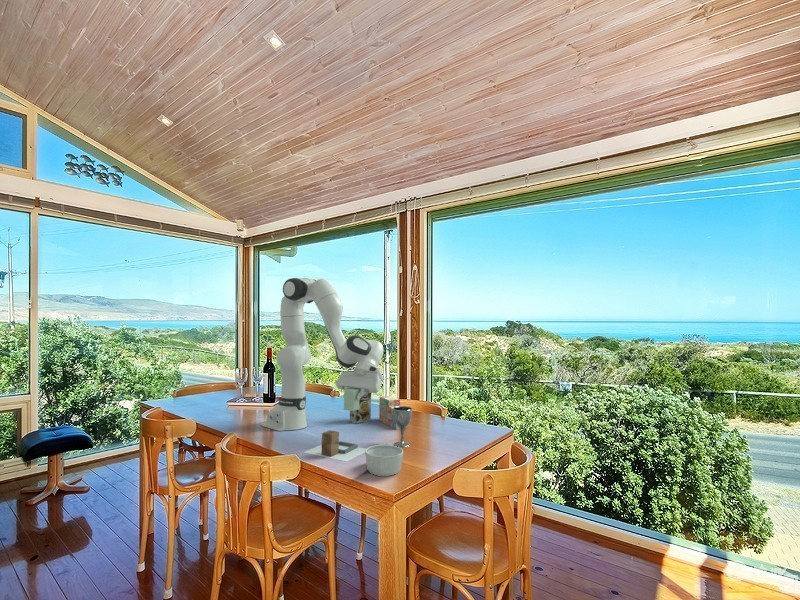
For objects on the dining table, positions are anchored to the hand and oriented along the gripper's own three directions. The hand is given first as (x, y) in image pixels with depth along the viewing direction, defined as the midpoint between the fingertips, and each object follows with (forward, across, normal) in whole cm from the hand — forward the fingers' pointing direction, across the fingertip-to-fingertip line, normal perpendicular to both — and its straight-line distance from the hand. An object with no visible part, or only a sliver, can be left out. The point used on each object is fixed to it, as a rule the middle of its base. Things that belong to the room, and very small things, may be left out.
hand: (351, 398), depth 167 cm
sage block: (+3, 0, +4) cm, 5 cm away
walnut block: (+24, +1, +2) cm, 24 cm away
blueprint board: (+21, +1, +6) cm, 22 cm away
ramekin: (+26, +25, +2) cm, 36 cm away
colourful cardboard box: (-16, -2, +44) cm, 46 cm away
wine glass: (+5, +17, +23) cm, 29 cm away
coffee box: (-13, -18, +40) cm, 46 cm away
